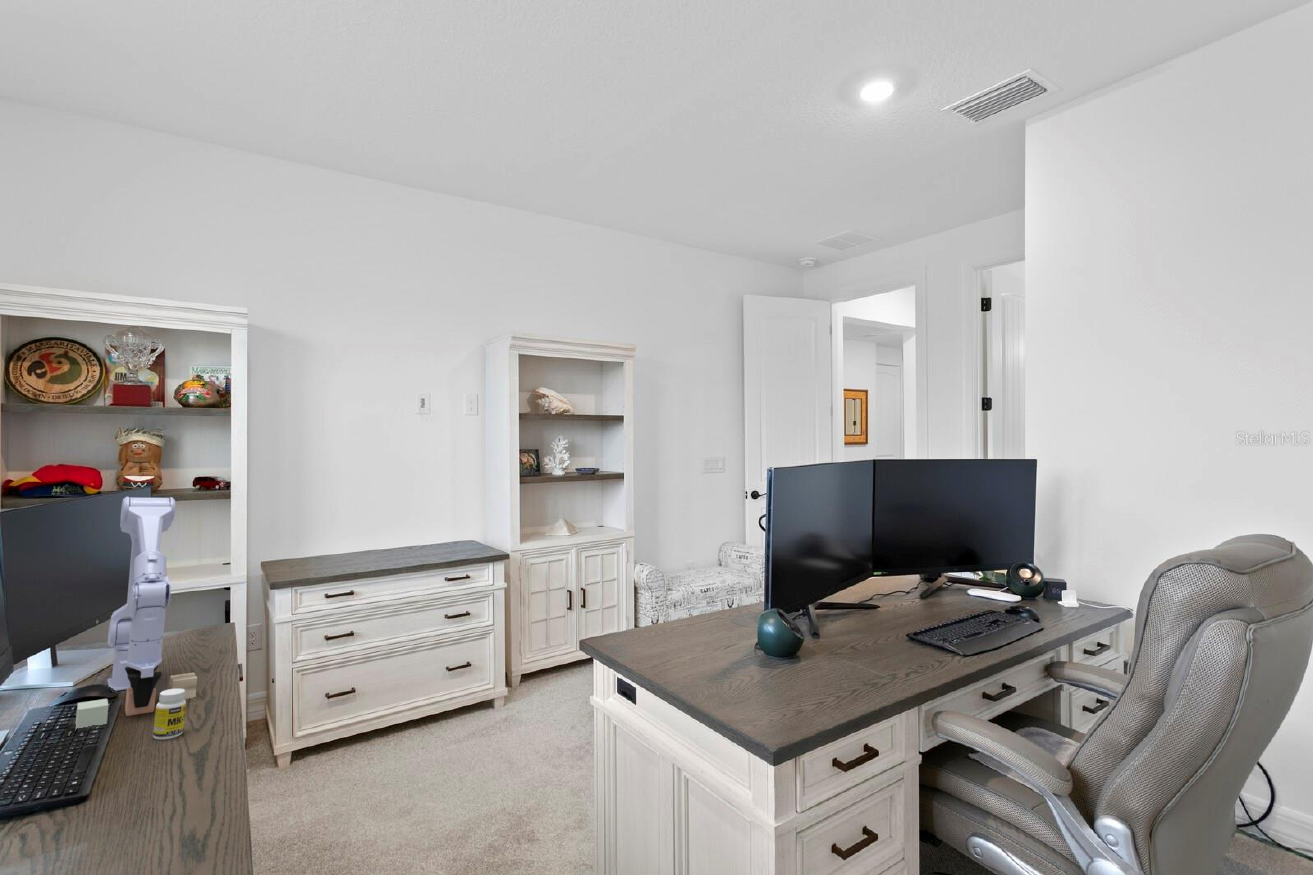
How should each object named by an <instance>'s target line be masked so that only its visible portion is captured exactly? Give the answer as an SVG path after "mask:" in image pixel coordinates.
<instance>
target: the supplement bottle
mask: <svg viewBox="0 0 1313 875" xmlns="http://www.w3.org/2000/svg"><path fill="white" fill-rule="evenodd" d="M184 696H185V690H184V689H169V688H168V689H165V690H163V691H161V692H160V693H159V698H158V700H159V702H158V703H157V704H155V705H156V706H155V711H154V712H155V714H154V722H153V730H152V737H153V739H155V740H158V741H159V740H162V741H163V740H172V739H176V738H178V737H179V736H181V735H182V734H183V733H184V725H185V717H186V716H185V715H186V707H187V701H186V699H183V698H184Z"/></svg>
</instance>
